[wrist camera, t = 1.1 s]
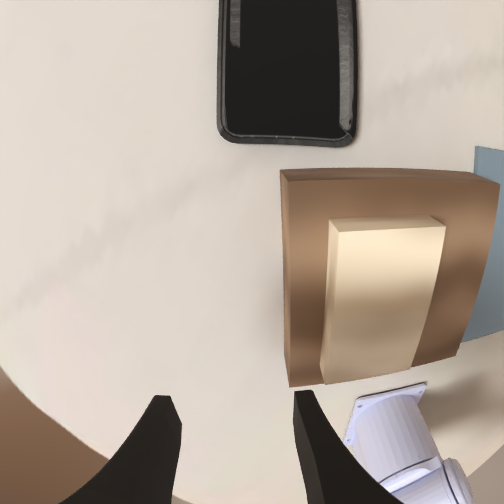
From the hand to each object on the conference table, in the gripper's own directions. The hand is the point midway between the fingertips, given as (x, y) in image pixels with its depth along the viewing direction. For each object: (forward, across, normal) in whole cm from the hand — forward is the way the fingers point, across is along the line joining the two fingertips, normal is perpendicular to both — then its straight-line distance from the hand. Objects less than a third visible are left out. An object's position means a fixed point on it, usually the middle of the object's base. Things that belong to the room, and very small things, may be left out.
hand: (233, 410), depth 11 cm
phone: (+11, -4, -16) cm, 20 cm away
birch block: (+7, -8, 0) cm, 11 cm away
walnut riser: (+10, -10, 0) cm, 14 cm away
